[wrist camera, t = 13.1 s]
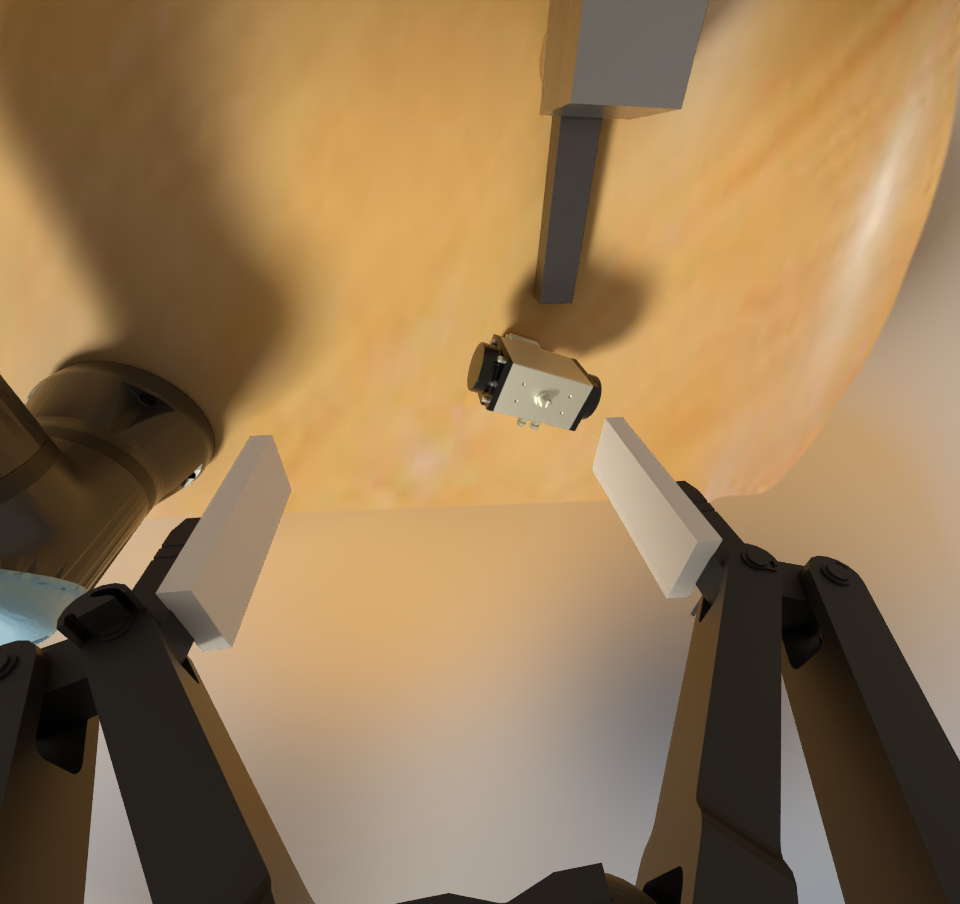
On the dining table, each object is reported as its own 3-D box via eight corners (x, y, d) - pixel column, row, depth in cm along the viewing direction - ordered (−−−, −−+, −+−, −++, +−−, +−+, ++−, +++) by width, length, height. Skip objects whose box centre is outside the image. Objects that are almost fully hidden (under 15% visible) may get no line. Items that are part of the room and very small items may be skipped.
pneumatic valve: (473, 313, 39) (492, 361, 30) (573, 345, 43) (618, 397, 33) (456, 362, 42) (469, 421, 32) (551, 389, 46) (587, 448, 36)
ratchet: (520, 297, 39) (537, 319, 33) (545, -4, 27) (579, -47, 21) (577, 296, 39) (604, 318, 34) (626, 3, 28) (680, -37, 22)
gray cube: (539, 114, 28) (570, 103, 23) (552, -34, 24) (594, -93, 19) (630, 119, 29) (681, 109, 24) (658, -24, 25) (727, -78, 19)
